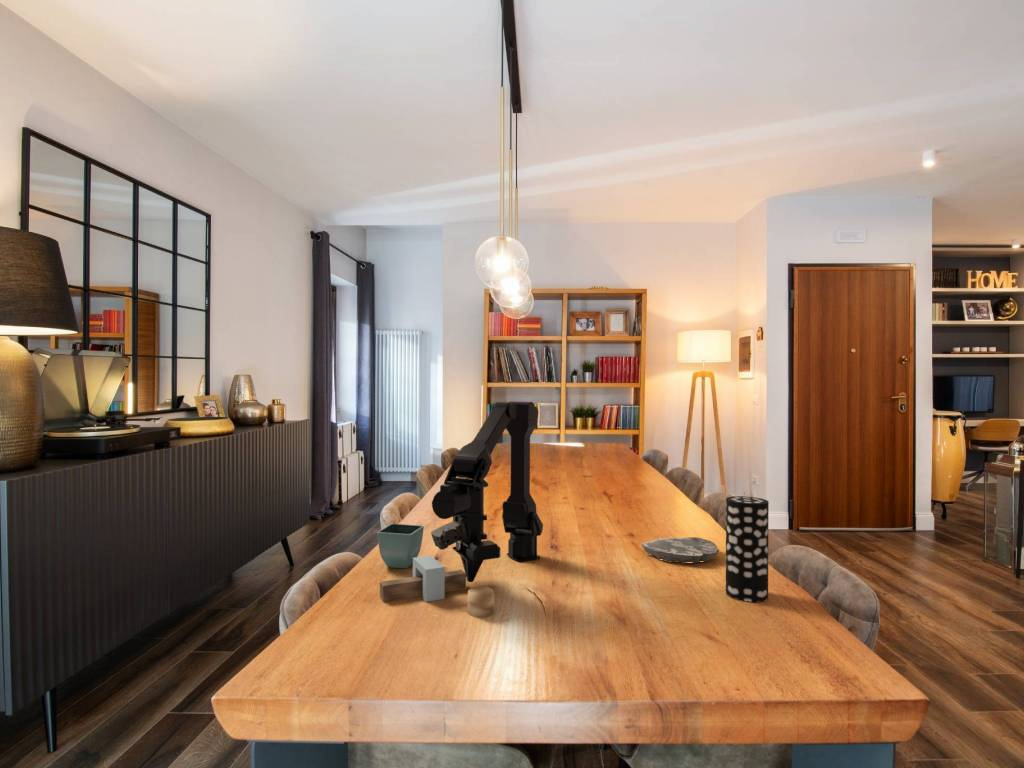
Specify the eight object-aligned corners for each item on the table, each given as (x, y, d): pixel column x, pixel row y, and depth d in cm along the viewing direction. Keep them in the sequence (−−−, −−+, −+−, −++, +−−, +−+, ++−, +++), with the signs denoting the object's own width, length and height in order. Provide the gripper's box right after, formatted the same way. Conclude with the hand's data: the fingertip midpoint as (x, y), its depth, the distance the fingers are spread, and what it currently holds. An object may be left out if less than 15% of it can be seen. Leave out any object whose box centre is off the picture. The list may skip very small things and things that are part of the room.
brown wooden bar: (461, 586, 127) (461, 569, 127) (465, 590, 125) (466, 573, 125) (379, 599, 119) (379, 581, 119) (383, 603, 117) (383, 585, 117)
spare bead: (487, 605, 115) (487, 585, 115) (497, 614, 111) (498, 593, 111) (463, 609, 113) (464, 589, 113) (473, 619, 109) (474, 597, 109)
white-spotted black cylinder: (766, 590, 124) (766, 497, 124) (770, 604, 116) (770, 505, 116) (725, 586, 127) (725, 495, 127) (726, 599, 119) (726, 502, 119)
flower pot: (411, 572, 135) (411, 534, 135) (376, 569, 137) (376, 531, 137) (424, 561, 144) (424, 525, 144) (391, 559, 146) (391, 523, 146)
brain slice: (676, 571, 138) (676, 559, 138) (633, 553, 153) (633, 541, 153) (737, 562, 146) (737, 550, 146) (691, 544, 161) (691, 534, 161)
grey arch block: (430, 585, 127) (430, 555, 127) (444, 598, 119) (444, 567, 119) (412, 587, 125) (412, 557, 125) (425, 601, 117) (425, 569, 117)
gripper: (421, 505, 131) (421, 574, 131) (450, 522, 114) (450, 602, 114) (467, 501, 136) (467, 567, 136) (501, 517, 119) (501, 593, 119)
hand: (470, 581), depth 126 cm, fingers closed
